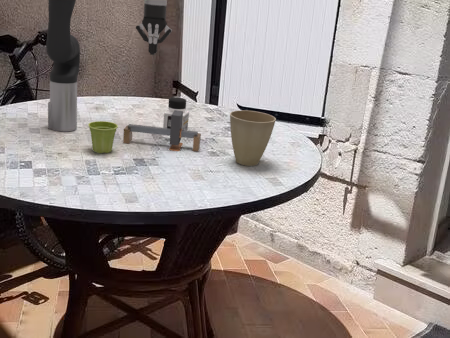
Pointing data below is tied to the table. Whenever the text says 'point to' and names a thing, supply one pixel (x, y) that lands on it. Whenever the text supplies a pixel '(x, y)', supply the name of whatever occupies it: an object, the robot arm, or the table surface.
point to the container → (178, 105)
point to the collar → (176, 127)
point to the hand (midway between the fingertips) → (152, 54)
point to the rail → (162, 131)
